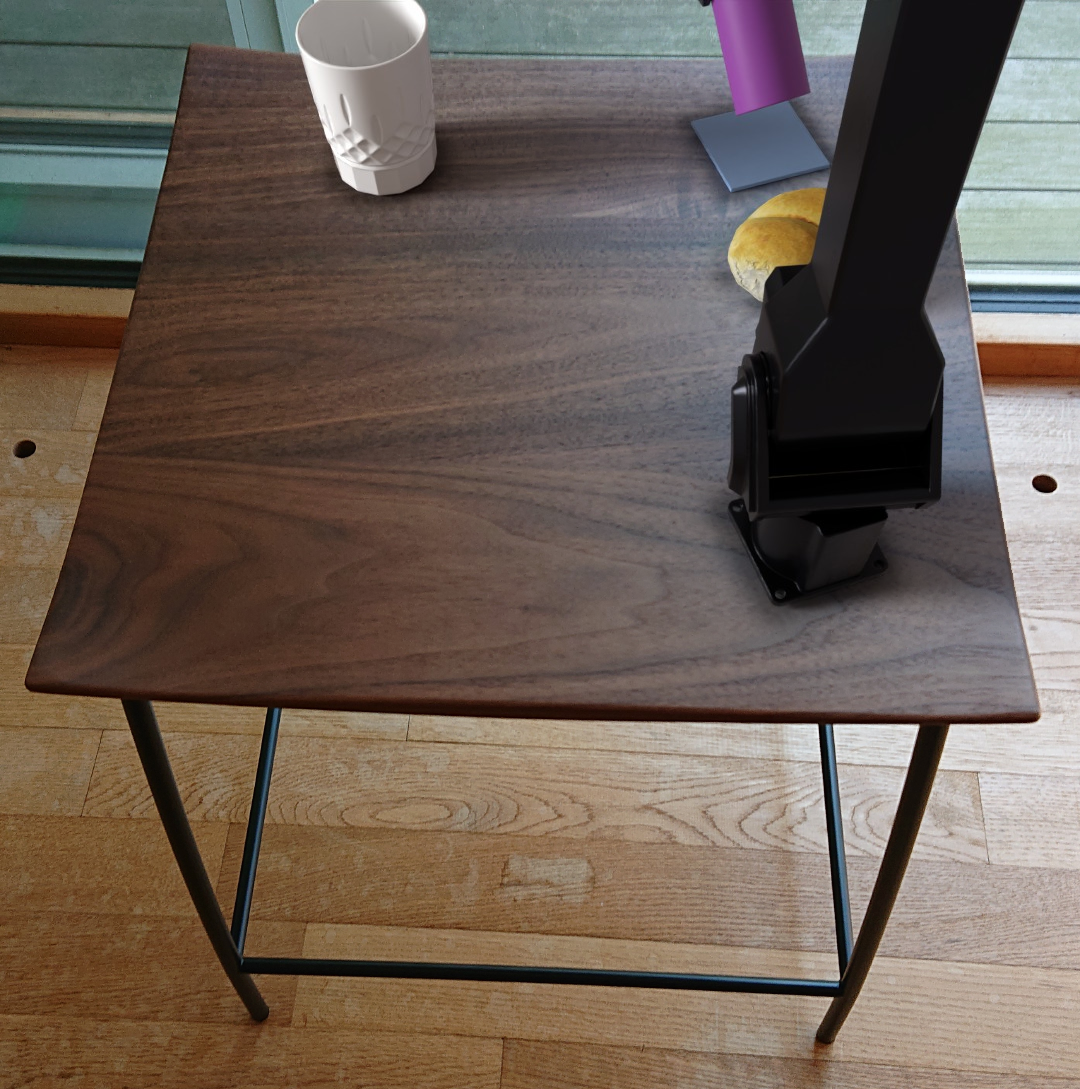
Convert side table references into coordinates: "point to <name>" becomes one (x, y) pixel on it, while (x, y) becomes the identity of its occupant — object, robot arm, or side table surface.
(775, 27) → the eggplant
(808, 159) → the blue-grey square tile
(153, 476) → the side table surface
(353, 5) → the white cup
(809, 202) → the bread roll
